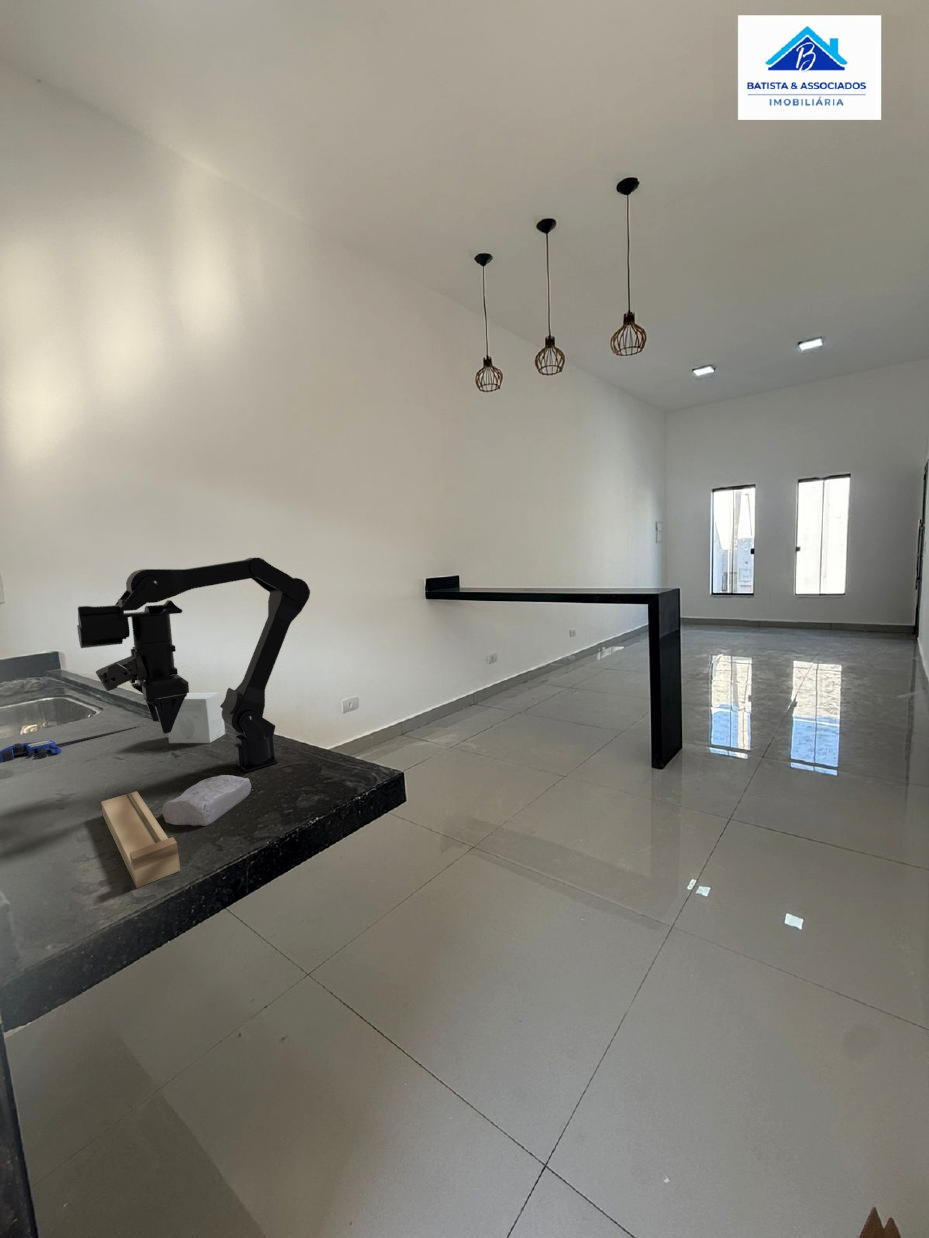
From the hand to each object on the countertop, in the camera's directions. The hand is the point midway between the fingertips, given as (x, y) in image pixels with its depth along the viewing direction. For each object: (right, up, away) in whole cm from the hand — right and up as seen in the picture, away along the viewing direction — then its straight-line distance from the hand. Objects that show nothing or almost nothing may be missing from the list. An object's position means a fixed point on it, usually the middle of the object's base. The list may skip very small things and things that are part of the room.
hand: (161, 726), depth 90 cm
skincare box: (-8, -9, +28) cm, 30 cm away
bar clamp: (-35, -10, +30) cm, 47 cm away
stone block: (+11, -13, -5) cm, 18 cm away
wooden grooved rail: (+5, -14, -15) cm, 21 cm away
